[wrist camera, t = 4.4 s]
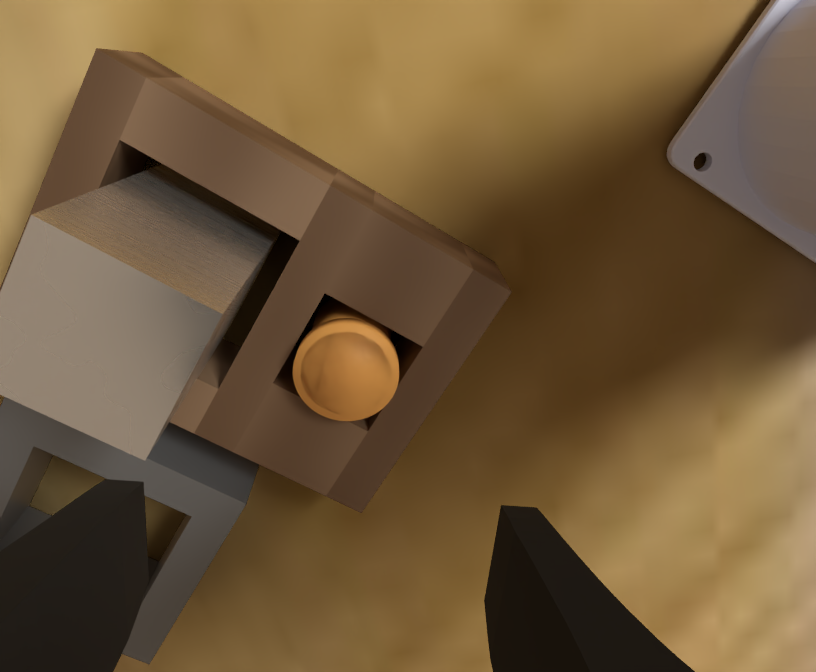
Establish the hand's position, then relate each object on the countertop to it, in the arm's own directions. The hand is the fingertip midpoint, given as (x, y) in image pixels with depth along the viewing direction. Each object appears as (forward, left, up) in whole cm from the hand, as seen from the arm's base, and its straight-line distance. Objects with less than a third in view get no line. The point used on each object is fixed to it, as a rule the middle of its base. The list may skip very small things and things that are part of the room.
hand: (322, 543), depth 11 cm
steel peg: (+5, 0, -10) cm, 12 cm away
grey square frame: (+4, +9, -10) cm, 14 cm away
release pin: (0, 0, -10) cm, 10 cm away
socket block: (+3, 0, -10) cm, 11 cm away
